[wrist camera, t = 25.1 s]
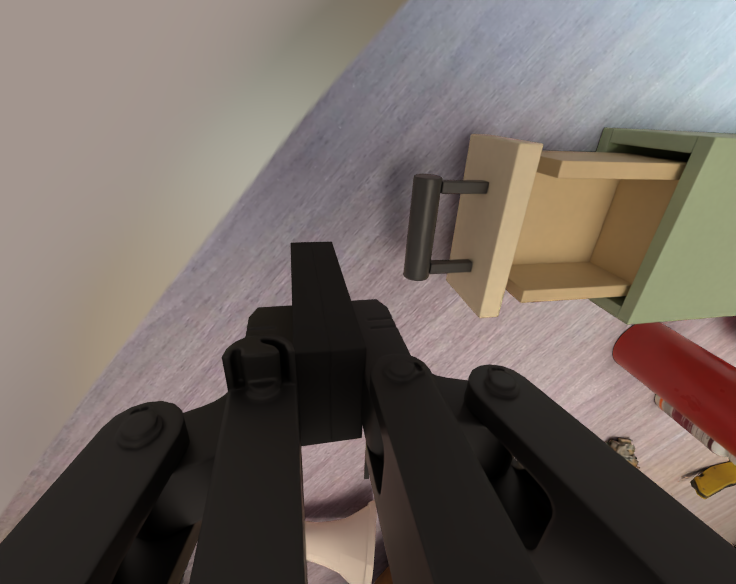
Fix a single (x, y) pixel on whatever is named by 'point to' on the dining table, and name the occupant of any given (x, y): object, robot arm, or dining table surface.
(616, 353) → the can
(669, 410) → the pill bottle
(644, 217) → the drawer
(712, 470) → the utility knife
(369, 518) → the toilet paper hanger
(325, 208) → the dining table surface
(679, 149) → the cabinet
